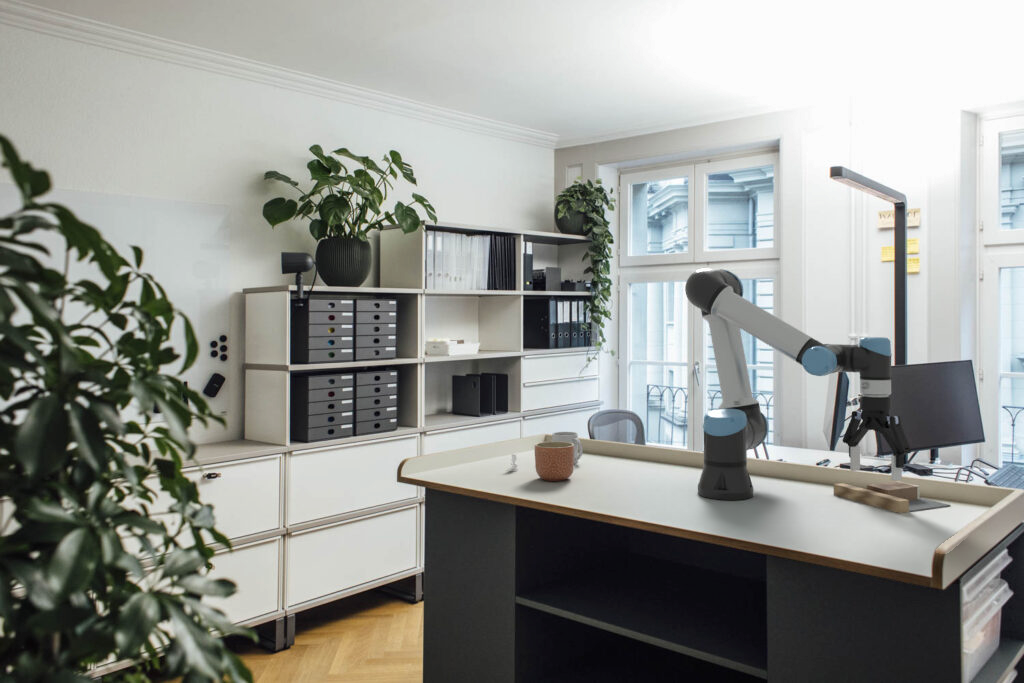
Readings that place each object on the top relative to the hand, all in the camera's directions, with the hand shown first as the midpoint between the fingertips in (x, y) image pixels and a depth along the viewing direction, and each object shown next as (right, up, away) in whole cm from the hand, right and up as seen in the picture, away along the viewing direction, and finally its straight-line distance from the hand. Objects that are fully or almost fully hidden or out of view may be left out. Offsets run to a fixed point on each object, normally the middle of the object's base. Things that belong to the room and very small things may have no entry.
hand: (875, 475), depth 202 cm
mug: (-78, -7, +62) cm, 100 cm away
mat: (+7, -7, +3) cm, 10 cm away
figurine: (-96, -8, +50) cm, 109 cm away
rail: (-2, -7, -1) cm, 8 cm away
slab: (+1, -5, 0) cm, 5 cm away
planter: (-83, -8, +35) cm, 91 cm away
